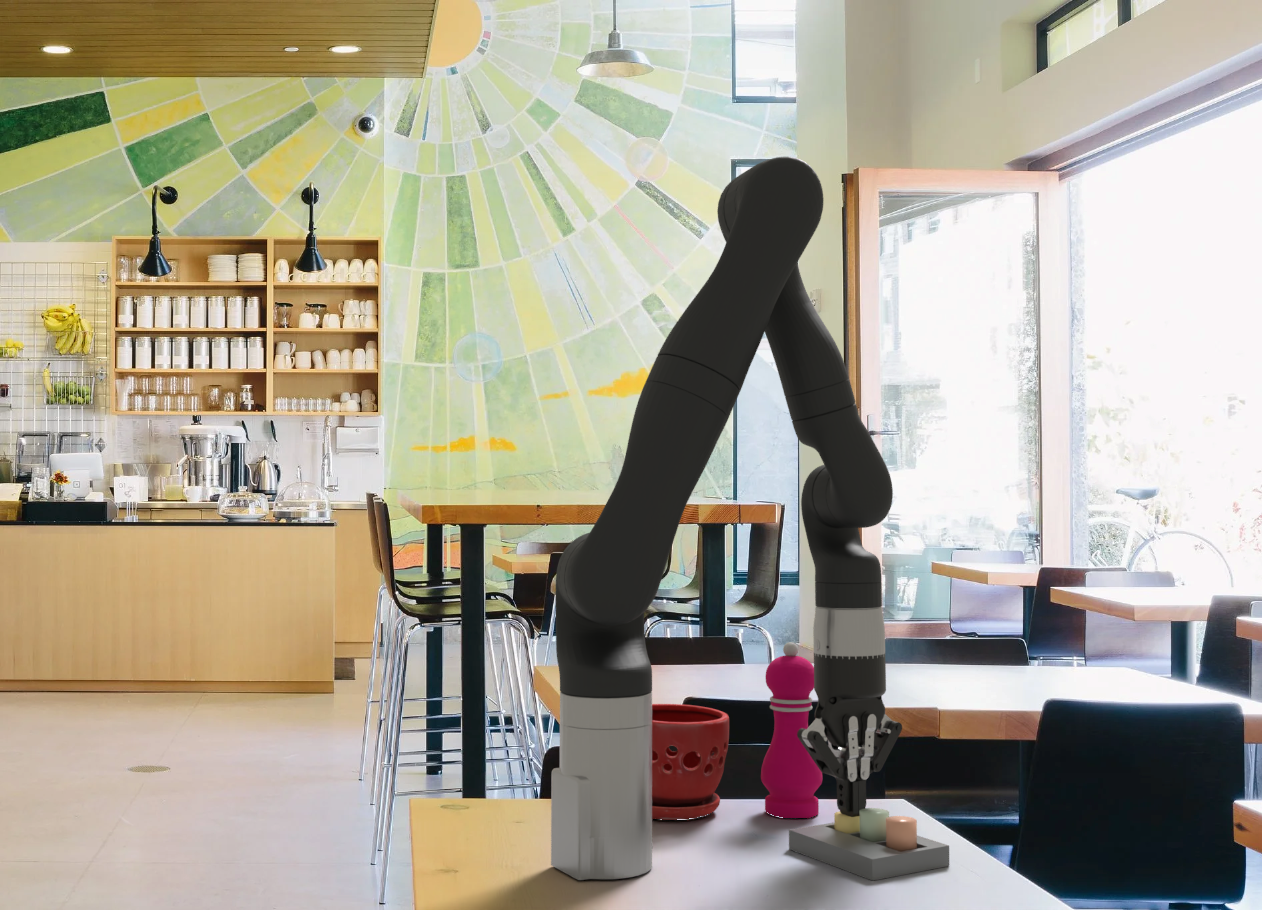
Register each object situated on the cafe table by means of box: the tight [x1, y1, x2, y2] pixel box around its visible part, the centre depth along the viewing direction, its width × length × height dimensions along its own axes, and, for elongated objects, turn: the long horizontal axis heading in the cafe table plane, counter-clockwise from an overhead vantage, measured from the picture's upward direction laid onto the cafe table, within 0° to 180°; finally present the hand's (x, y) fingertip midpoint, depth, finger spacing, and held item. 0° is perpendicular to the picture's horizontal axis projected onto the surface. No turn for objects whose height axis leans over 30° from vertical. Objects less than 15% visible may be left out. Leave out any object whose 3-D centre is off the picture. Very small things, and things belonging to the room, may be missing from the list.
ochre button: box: [833, 810, 860, 834], centre depth 128 cm, size 3×3×3 cm
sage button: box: [859, 807, 890, 842], centre depth 125 cm, size 3×3×3 cm
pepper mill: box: [760, 641, 823, 819], centre depth 144 cm, size 7×7×20 cm
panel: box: [788, 822, 950, 881], centre depth 124 cm, size 10×13×2 cm
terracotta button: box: [886, 815, 918, 852], centre depth 121 cm, size 3×3×3 cm
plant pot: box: [652, 703, 730, 821], centre depth 143 cm, size 13×13×12 cm
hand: (852, 814), depth 128 cm, fingers closed
